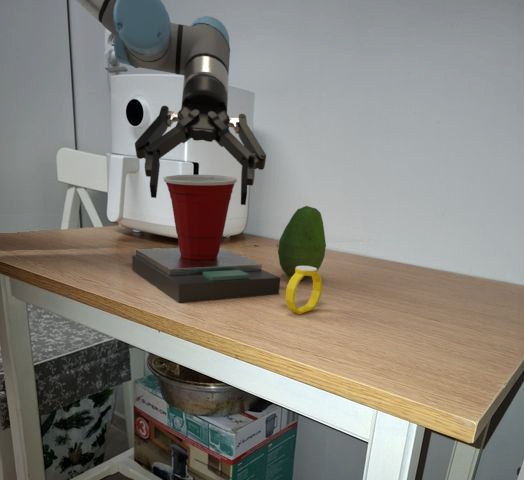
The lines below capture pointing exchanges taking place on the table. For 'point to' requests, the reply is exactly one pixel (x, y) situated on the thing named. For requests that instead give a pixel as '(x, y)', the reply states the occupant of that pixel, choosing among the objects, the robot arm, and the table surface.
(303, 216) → the avocado
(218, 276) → the scale
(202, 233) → the plastic cup
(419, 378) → the table surface
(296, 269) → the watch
